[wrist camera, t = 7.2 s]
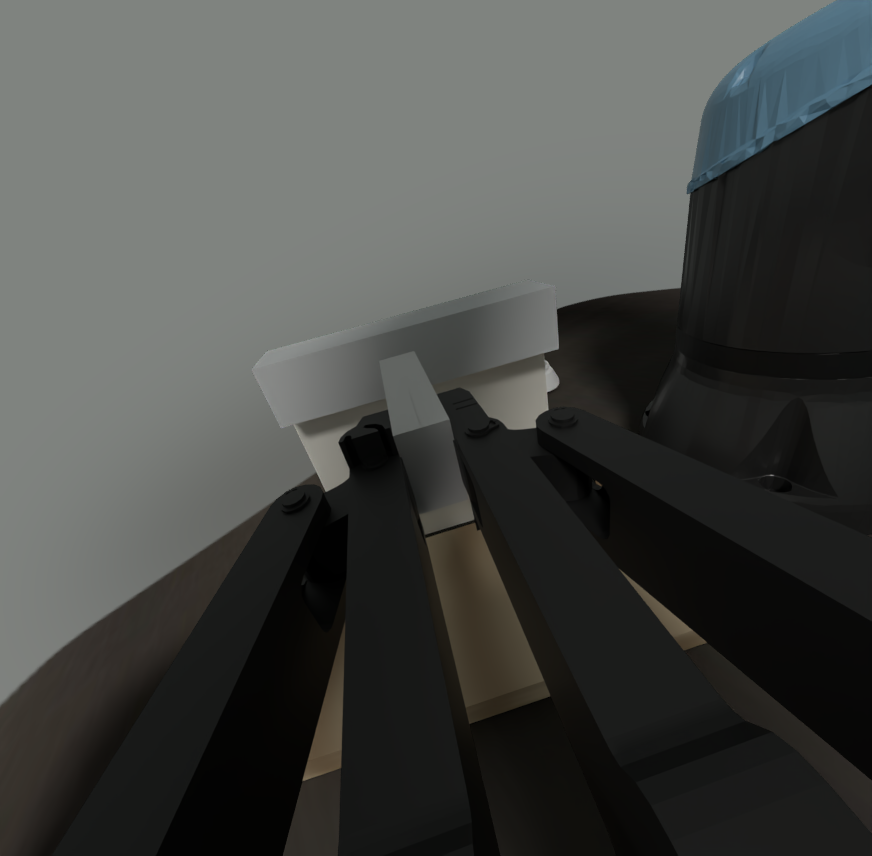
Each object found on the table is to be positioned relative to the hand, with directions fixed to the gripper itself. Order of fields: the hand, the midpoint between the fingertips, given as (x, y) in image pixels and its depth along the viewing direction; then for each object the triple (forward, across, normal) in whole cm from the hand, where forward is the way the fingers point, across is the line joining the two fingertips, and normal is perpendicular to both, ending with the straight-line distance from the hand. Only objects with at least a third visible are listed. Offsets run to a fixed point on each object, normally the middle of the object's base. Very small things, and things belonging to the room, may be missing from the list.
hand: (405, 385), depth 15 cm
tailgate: (+3, +1, -12) cm, 12 cm away
